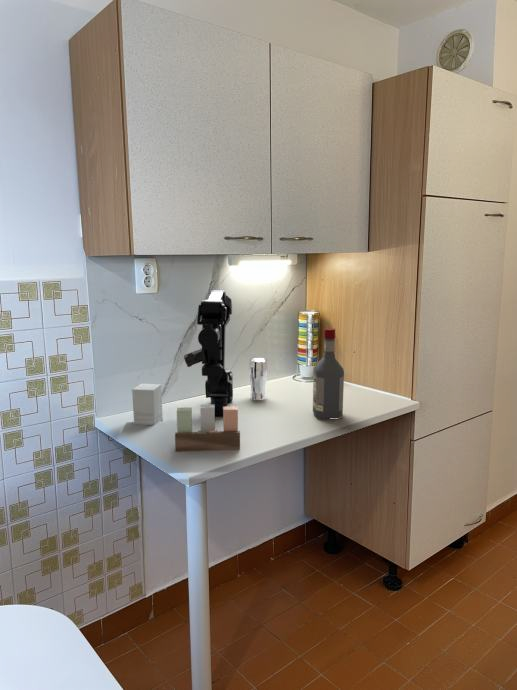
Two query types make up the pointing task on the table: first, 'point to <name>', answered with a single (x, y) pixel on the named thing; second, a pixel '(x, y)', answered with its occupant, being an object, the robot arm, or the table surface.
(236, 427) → the salmon brown block
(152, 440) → the table surface
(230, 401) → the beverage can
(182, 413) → the sage key
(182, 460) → the table surface
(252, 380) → the beer glass
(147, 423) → the supplement box
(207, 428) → the light grey tall block
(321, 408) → the liquor
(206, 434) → the keypad base
